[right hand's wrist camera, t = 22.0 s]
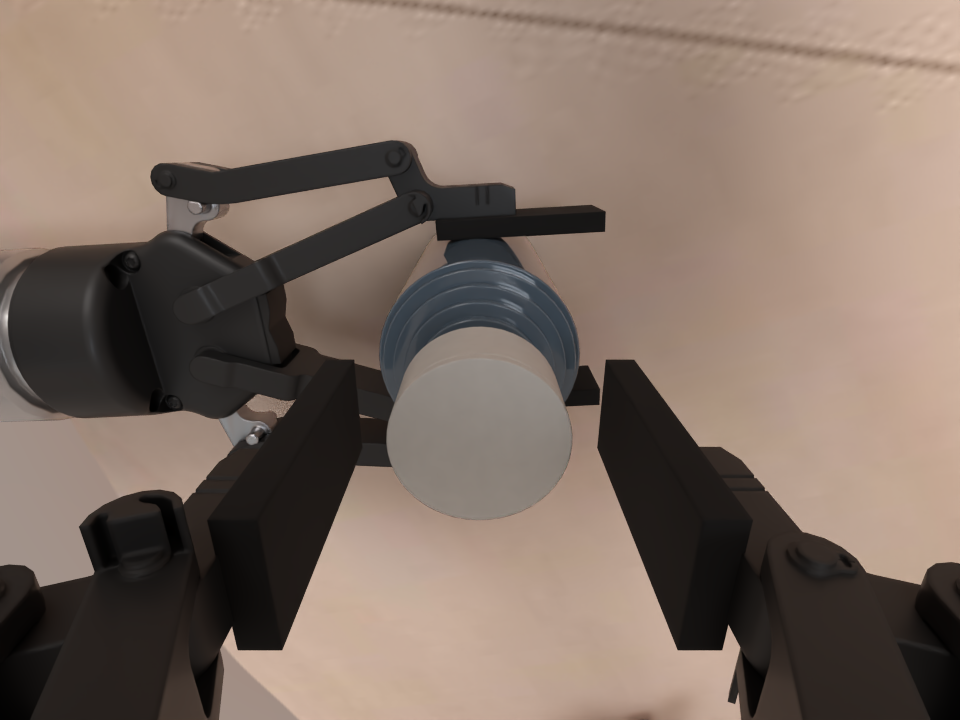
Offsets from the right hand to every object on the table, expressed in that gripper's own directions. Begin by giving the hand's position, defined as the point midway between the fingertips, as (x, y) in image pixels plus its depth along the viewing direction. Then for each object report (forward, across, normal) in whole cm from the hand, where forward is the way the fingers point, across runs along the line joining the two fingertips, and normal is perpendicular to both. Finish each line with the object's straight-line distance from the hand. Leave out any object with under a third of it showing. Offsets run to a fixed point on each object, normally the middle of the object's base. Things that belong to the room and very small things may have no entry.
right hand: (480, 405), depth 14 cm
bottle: (+16, 0, 0) cm, 16 cm away
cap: (-2, 0, 0) cm, 2 cm away
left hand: (+9, -5, 0) cm, 10 cm away
